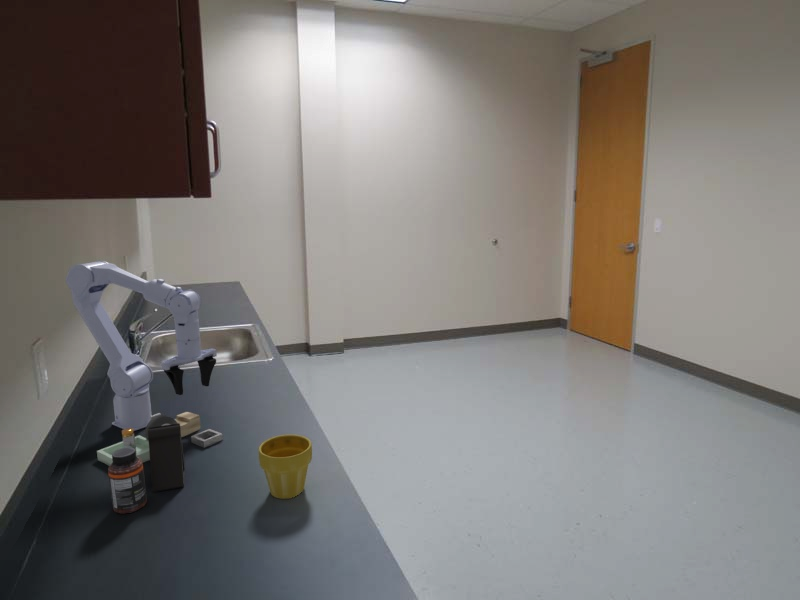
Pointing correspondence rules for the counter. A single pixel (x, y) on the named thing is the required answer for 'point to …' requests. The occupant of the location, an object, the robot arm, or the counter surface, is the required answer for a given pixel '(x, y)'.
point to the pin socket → (199, 437)
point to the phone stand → (166, 457)
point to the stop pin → (129, 438)
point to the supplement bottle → (127, 481)
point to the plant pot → (285, 464)
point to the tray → (141, 447)
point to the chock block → (188, 423)
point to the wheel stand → (159, 422)
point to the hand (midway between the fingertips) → (192, 389)
